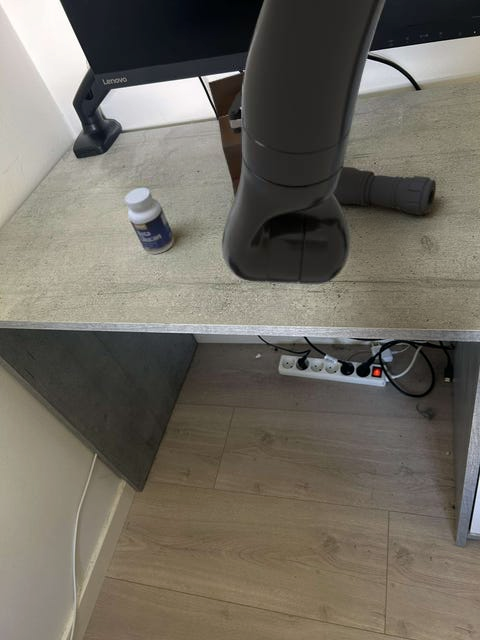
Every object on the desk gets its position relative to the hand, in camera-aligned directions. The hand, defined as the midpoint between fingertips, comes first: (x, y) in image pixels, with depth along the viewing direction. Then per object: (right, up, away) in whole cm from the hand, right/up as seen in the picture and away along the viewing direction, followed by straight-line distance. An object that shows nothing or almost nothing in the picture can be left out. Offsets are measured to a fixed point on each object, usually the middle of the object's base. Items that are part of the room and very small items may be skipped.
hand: (287, 76), depth 63 cm
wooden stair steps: (0, -8, +21) cm, 23 cm away
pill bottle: (-19, -19, +18) cm, 33 cm away
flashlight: (+15, -14, +11) cm, 24 cm away
